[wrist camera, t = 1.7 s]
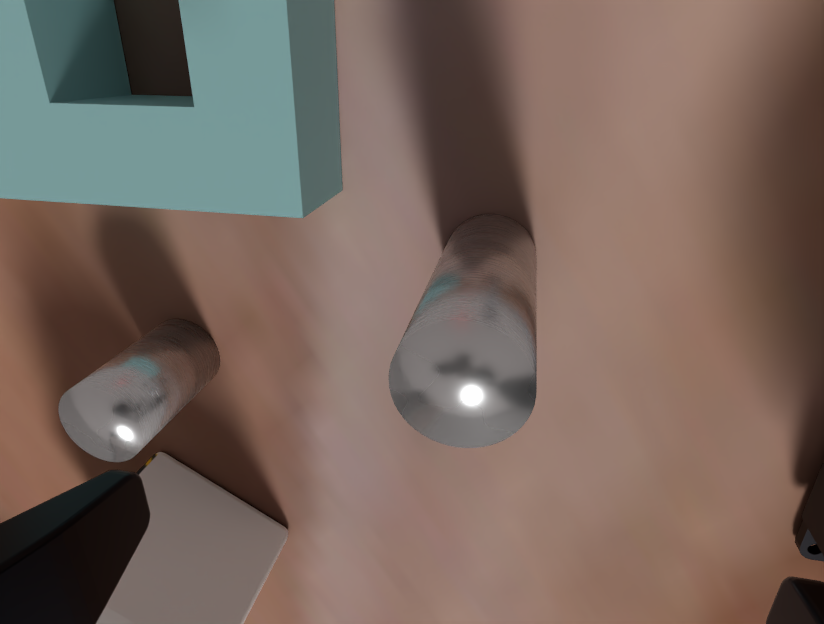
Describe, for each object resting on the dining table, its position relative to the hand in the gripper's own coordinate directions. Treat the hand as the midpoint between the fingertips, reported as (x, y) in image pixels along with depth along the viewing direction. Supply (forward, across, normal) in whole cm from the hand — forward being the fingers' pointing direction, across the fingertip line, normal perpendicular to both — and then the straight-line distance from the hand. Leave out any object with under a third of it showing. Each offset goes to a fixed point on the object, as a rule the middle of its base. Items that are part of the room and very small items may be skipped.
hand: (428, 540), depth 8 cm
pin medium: (+12, 0, 0) cm, 12 cm away
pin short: (+12, +12, +5) cm, 18 cm away
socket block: (+12, +10, -7) cm, 17 cm away
